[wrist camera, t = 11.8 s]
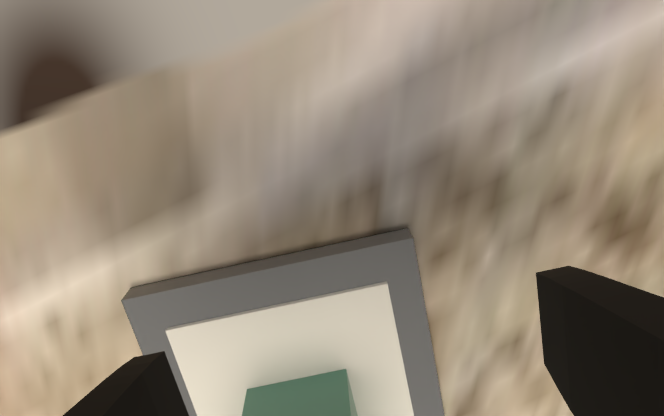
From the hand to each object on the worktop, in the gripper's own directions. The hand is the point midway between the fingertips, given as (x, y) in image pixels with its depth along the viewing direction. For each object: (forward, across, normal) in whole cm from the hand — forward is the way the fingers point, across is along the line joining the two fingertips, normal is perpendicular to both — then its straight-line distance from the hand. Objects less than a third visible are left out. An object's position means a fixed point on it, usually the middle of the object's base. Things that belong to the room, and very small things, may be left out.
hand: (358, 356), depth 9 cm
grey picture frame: (+9, +3, +8) cm, 13 cm away
